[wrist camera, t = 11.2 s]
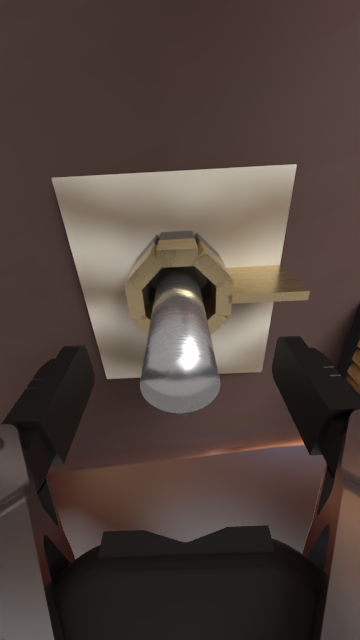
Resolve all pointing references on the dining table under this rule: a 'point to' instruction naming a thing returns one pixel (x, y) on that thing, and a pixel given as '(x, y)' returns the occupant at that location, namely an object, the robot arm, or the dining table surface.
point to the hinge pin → (179, 346)
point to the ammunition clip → (352, 358)
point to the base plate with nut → (181, 255)
